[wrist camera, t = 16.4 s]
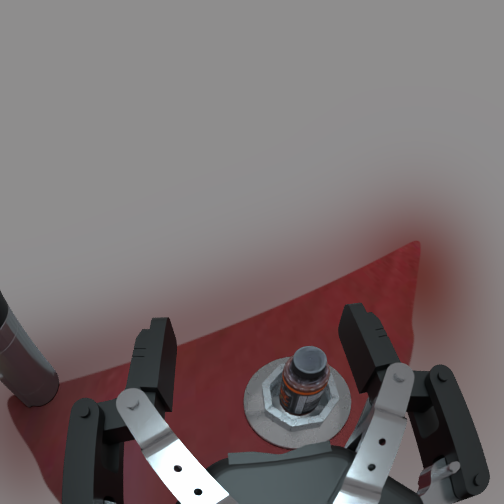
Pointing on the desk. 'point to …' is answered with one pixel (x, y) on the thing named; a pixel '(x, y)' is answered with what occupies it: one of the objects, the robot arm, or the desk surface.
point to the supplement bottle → (304, 381)
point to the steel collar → (287, 425)
